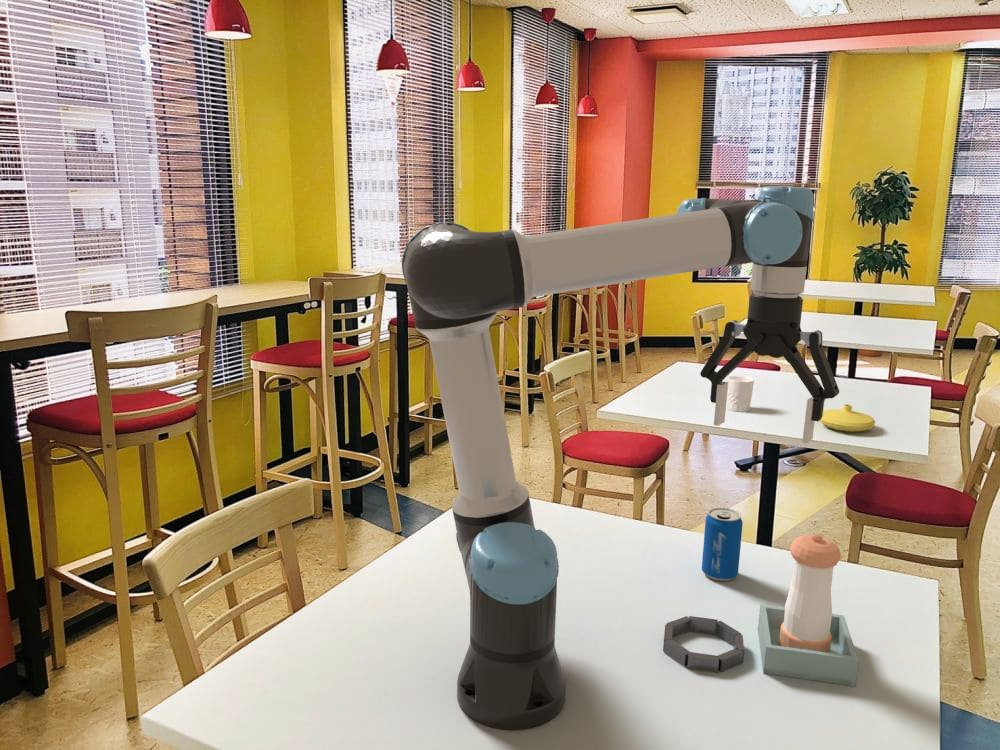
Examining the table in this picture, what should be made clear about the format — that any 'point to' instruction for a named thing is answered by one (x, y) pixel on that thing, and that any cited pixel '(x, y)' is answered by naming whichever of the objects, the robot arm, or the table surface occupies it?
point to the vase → (847, 420)
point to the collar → (698, 659)
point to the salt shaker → (810, 594)
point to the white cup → (739, 393)
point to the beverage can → (722, 544)
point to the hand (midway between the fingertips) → (761, 432)
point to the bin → (807, 652)
